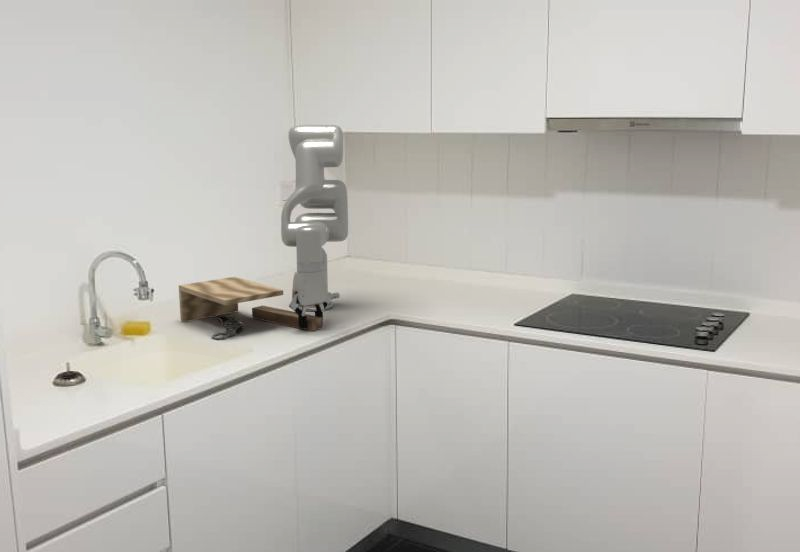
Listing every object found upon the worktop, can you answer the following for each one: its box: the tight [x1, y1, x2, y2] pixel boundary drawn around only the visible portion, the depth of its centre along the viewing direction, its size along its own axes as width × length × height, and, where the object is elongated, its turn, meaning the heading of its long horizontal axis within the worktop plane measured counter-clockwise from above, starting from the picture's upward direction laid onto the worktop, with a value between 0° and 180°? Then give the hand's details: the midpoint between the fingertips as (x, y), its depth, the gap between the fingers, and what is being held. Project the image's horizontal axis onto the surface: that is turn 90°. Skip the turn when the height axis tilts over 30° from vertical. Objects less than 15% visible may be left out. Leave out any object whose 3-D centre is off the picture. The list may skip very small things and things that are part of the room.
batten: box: [251, 305, 324, 332], centre depth 256 cm, size 3×26×5 cm
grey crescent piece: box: [211, 315, 244, 341], centre depth 252 cm, size 28×2×10 cm
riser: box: [178, 276, 284, 323], centre depth 255 cm, size 20×28×12 cm
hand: (311, 325), depth 250 cm, fingers closed on batten, 5 cm apart
